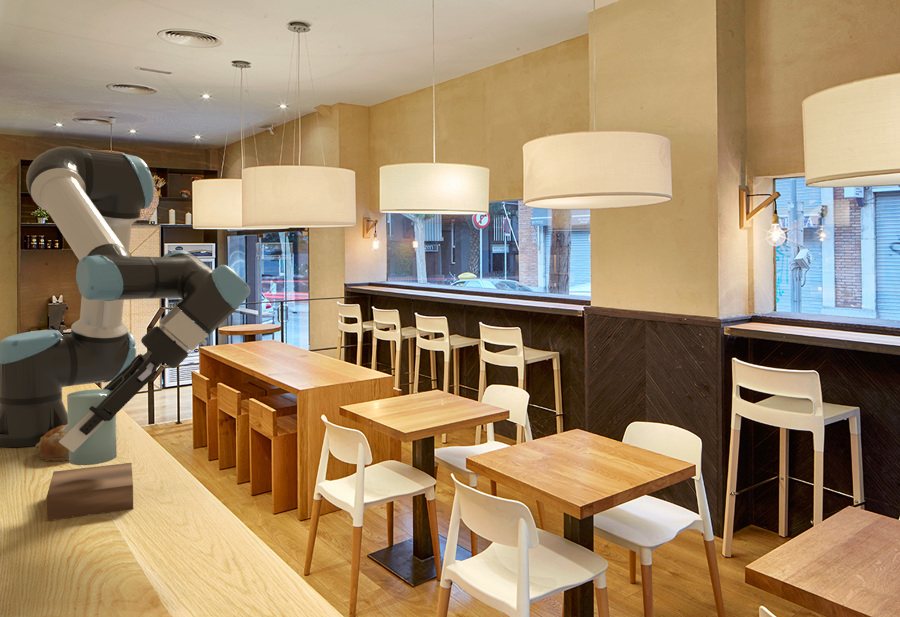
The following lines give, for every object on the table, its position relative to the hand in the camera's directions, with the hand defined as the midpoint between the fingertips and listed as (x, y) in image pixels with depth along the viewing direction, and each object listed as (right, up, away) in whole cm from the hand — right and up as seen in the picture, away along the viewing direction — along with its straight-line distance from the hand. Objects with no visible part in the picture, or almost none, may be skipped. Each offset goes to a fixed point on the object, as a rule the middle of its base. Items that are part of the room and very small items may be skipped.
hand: (67, 440), depth 104 cm
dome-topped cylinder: (+3, -3, +2) cm, 5 cm away
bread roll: (-16, -9, +26) cm, 32 cm away
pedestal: (+3, -11, +3) cm, 11 cm away
